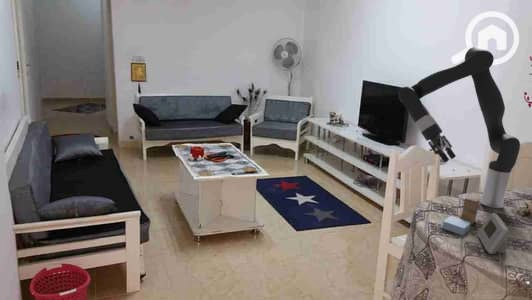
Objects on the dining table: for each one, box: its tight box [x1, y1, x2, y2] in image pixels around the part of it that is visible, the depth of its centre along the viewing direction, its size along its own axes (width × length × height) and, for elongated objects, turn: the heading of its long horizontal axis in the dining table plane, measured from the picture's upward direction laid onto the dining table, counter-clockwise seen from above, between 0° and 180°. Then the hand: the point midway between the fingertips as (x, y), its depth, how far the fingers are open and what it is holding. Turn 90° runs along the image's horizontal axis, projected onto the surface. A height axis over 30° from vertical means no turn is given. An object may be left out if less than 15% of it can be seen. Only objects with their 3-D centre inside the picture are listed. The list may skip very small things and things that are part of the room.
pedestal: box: [441, 215, 472, 236], centre depth 171 cm, size 8×8×3 cm
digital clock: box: [477, 212, 511, 255], centre depth 158 cm, size 16×9×11 cm, turn 156°
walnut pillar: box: [460, 195, 481, 225], centre depth 178 cm, size 4×4×10 cm
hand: (450, 159), depth 180 cm, fingers open, 8 cm apart
